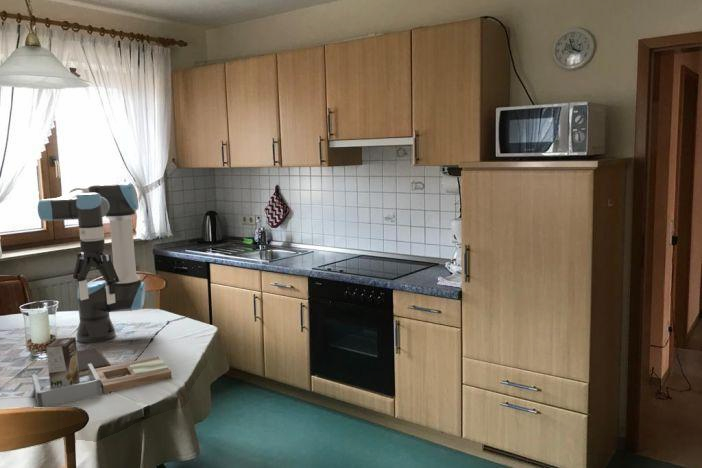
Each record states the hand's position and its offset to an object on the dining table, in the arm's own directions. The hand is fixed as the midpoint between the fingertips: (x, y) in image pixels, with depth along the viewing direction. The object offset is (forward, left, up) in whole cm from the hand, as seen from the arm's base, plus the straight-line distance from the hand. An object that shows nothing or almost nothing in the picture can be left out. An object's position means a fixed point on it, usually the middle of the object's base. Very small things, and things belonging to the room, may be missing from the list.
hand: (97, 301), depth 209 cm
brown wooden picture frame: (+4, +9, -27) cm, 29 cm away
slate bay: (+5, -13, -27) cm, 31 cm away
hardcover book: (-20, -5, -28) cm, 35 cm away
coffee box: (+1, -13, -28) cm, 30 cm away
